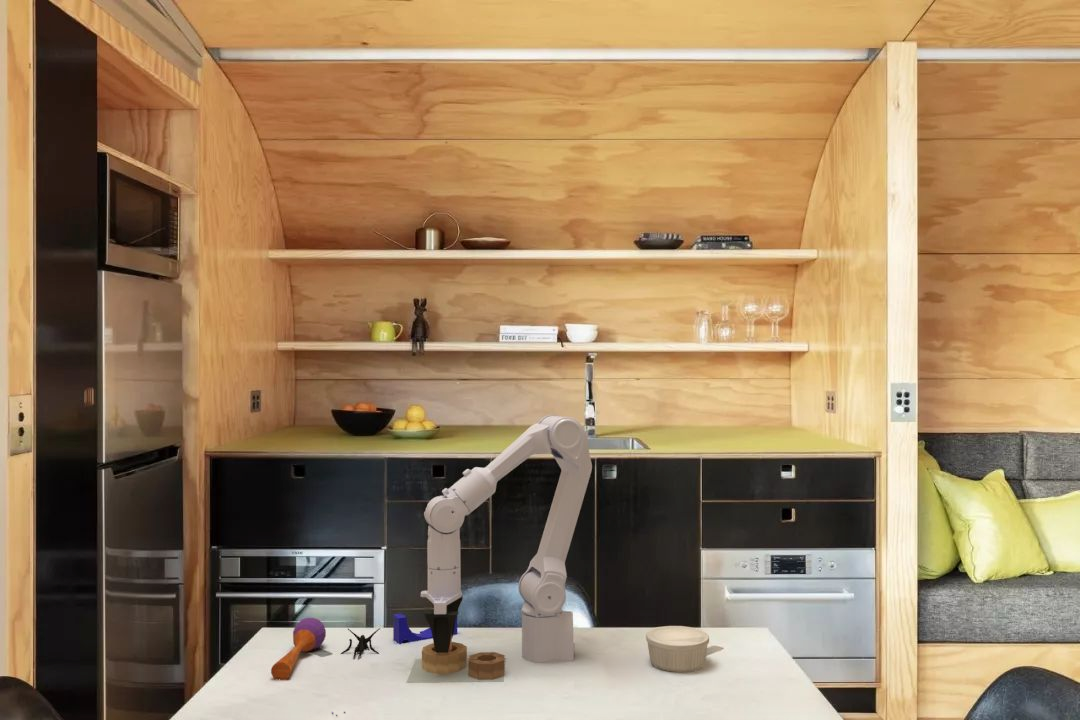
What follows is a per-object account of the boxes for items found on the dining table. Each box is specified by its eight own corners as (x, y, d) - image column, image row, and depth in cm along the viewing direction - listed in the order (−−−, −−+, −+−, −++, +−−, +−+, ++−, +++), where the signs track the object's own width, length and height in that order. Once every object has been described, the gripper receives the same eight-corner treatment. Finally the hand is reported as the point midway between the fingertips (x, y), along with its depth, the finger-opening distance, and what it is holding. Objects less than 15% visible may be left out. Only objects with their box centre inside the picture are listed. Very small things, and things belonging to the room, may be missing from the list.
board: (505, 663, 156) (505, 657, 156) (503, 687, 144) (503, 681, 144) (415, 664, 156) (415, 658, 156) (406, 688, 144) (406, 682, 144)
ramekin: (681, 680, 148) (681, 648, 148) (632, 663, 156) (632, 634, 156) (722, 665, 155) (722, 635, 155) (673, 650, 163) (673, 621, 164)
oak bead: (467, 658, 156) (467, 641, 156) (464, 673, 148) (464, 655, 148) (425, 659, 156) (425, 642, 156) (419, 673, 148) (419, 655, 148)
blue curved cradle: (448, 634, 175) (447, 604, 175) (457, 640, 171) (457, 609, 171) (390, 644, 169) (390, 612, 169) (399, 650, 165) (398, 618, 165)
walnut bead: (504, 667, 151) (504, 652, 151) (503, 679, 145) (503, 663, 145) (470, 667, 151) (470, 652, 151) (467, 679, 145) (467, 663, 145)
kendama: (259, 658, 149) (295, 616, 169) (267, 691, 149) (302, 645, 169) (294, 651, 148) (325, 610, 168) (301, 685, 149) (332, 640, 169)
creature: (378, 671, 156) (386, 648, 164) (376, 644, 155) (385, 621, 163) (334, 671, 156) (344, 648, 164) (332, 644, 155) (342, 621, 163)
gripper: (425, 557, 160) (426, 632, 159) (415, 576, 145) (415, 658, 145) (464, 557, 160) (465, 632, 159) (458, 575, 145) (458, 658, 145)
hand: (444, 645), depth 152 cm, fingers open, 7 cm apart
